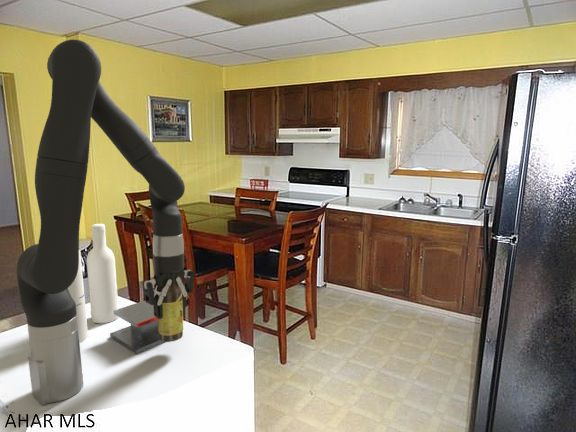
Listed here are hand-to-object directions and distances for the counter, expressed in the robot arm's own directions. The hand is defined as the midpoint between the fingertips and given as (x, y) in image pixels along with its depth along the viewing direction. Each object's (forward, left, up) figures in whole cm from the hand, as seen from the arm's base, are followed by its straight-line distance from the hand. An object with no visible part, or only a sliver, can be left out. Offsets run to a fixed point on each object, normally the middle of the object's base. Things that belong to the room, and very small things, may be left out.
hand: (170, 313), depth 103 cm
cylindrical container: (-14, +27, -11) cm, 32 cm away
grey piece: (0, +13, -11) cm, 17 cm away
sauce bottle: (0, 0, -7) cm, 7 cm away
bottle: (-2, +33, -11) cm, 35 cm away
